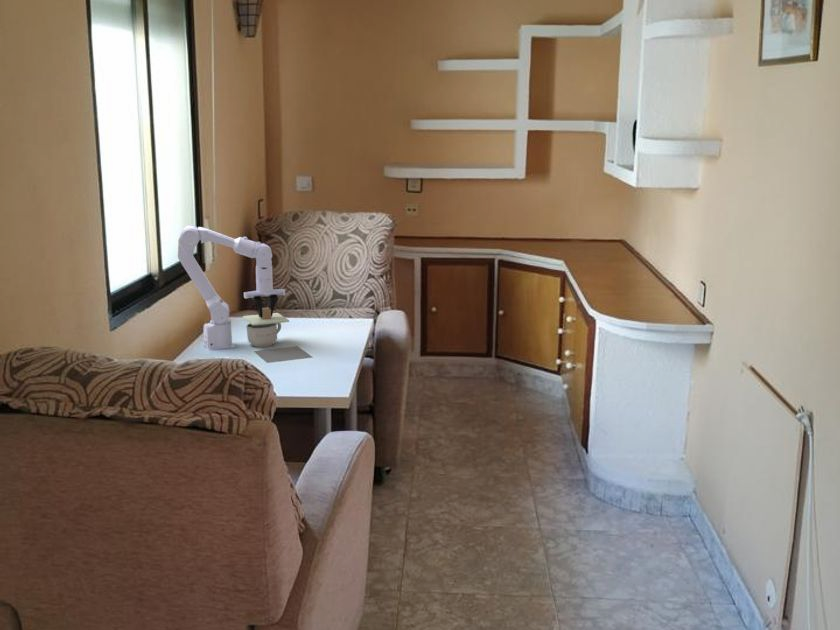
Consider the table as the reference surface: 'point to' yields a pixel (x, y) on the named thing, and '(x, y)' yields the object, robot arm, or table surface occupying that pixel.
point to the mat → (282, 354)
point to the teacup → (263, 334)
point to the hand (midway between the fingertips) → (265, 316)
